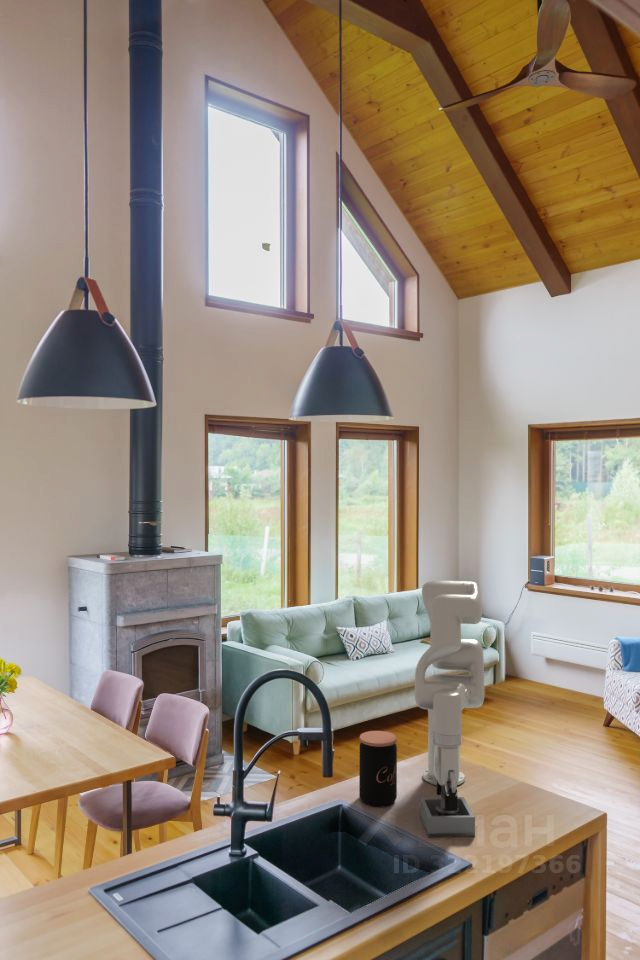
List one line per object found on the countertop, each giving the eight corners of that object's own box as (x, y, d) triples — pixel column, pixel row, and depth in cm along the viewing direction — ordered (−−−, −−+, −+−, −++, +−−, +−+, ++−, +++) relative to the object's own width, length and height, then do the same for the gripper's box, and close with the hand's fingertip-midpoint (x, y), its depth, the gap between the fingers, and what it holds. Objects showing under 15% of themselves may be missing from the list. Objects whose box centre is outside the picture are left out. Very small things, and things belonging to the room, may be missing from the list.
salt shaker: (457, 828, 199) (458, 782, 199) (434, 825, 200) (435, 780, 200) (458, 818, 205) (458, 773, 204) (436, 816, 206) (436, 771, 206)
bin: (419, 816, 208) (420, 798, 208) (463, 815, 208) (463, 797, 208) (428, 837, 196) (428, 818, 196) (475, 836, 196) (475, 817, 196)
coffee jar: (378, 811, 211) (378, 746, 210) (351, 799, 219) (351, 736, 218) (404, 800, 218) (404, 737, 217) (377, 788, 226) (377, 727, 225)
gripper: (426, 727, 210) (426, 789, 210) (440, 749, 193) (439, 817, 193) (453, 726, 211) (453, 788, 211) (469, 749, 193) (469, 816, 194)
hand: (446, 802), depth 202 cm, fingers open, 9 cm apart
